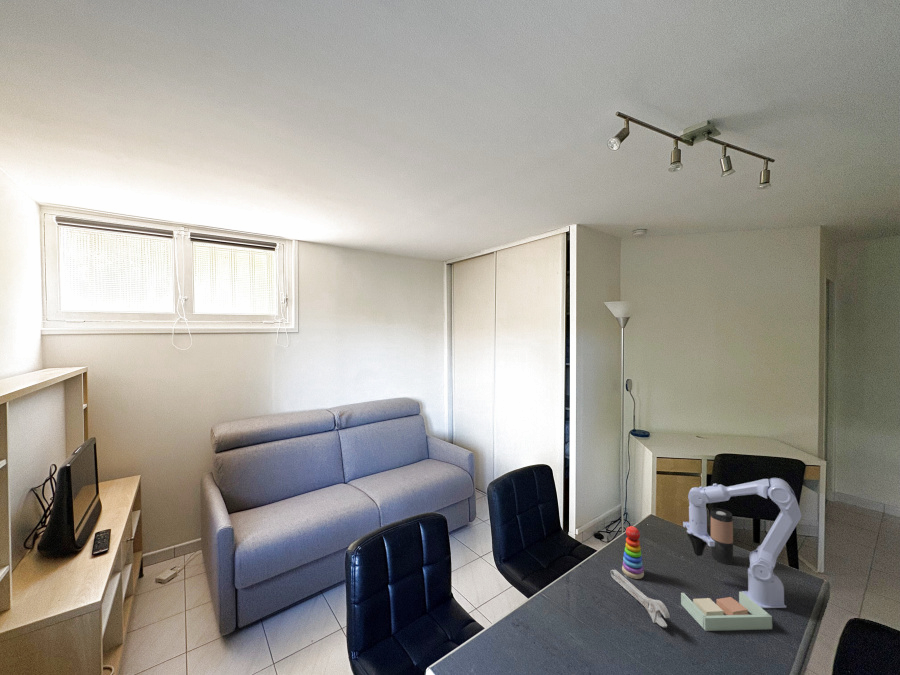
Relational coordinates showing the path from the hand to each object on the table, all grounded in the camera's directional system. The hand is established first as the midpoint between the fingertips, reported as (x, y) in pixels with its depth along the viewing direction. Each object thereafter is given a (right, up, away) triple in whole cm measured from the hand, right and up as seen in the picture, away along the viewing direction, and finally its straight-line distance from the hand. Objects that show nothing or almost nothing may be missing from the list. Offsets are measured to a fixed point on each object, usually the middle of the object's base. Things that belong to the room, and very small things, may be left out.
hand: (698, 554), depth 138 cm
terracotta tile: (-1, -10, -17) cm, 20 cm away
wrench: (-31, -10, -12) cm, 34 cm away
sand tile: (-9, -10, -17) cm, 22 cm away
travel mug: (+19, -10, +12) cm, 24 cm away
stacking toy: (-24, -10, +3) cm, 26 cm away
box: (-5, -9, -19) cm, 21 cm away
